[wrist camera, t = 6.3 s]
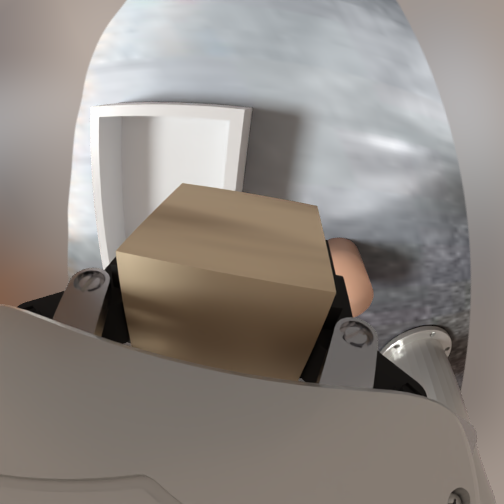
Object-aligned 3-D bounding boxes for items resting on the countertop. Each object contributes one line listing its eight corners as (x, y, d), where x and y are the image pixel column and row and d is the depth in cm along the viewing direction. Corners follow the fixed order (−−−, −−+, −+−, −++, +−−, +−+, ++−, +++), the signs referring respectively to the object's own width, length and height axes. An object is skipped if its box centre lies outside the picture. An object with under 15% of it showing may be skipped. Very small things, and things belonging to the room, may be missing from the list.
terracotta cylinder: (351, 280, 32) (362, 321, 26) (310, 273, 32) (313, 315, 26) (365, 242, 30) (381, 279, 24) (320, 233, 30) (327, 270, 24)
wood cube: (288, 309, 13) (285, 406, 9) (179, 288, 13) (138, 376, 9) (317, 205, 10) (335, 292, 6) (182, 183, 10) (115, 250, 6)
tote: (233, 272, 34) (225, 299, 29) (123, 252, 34) (104, 274, 30) (252, 107, 24) (244, 109, 20) (118, 102, 25) (90, 106, 21)
